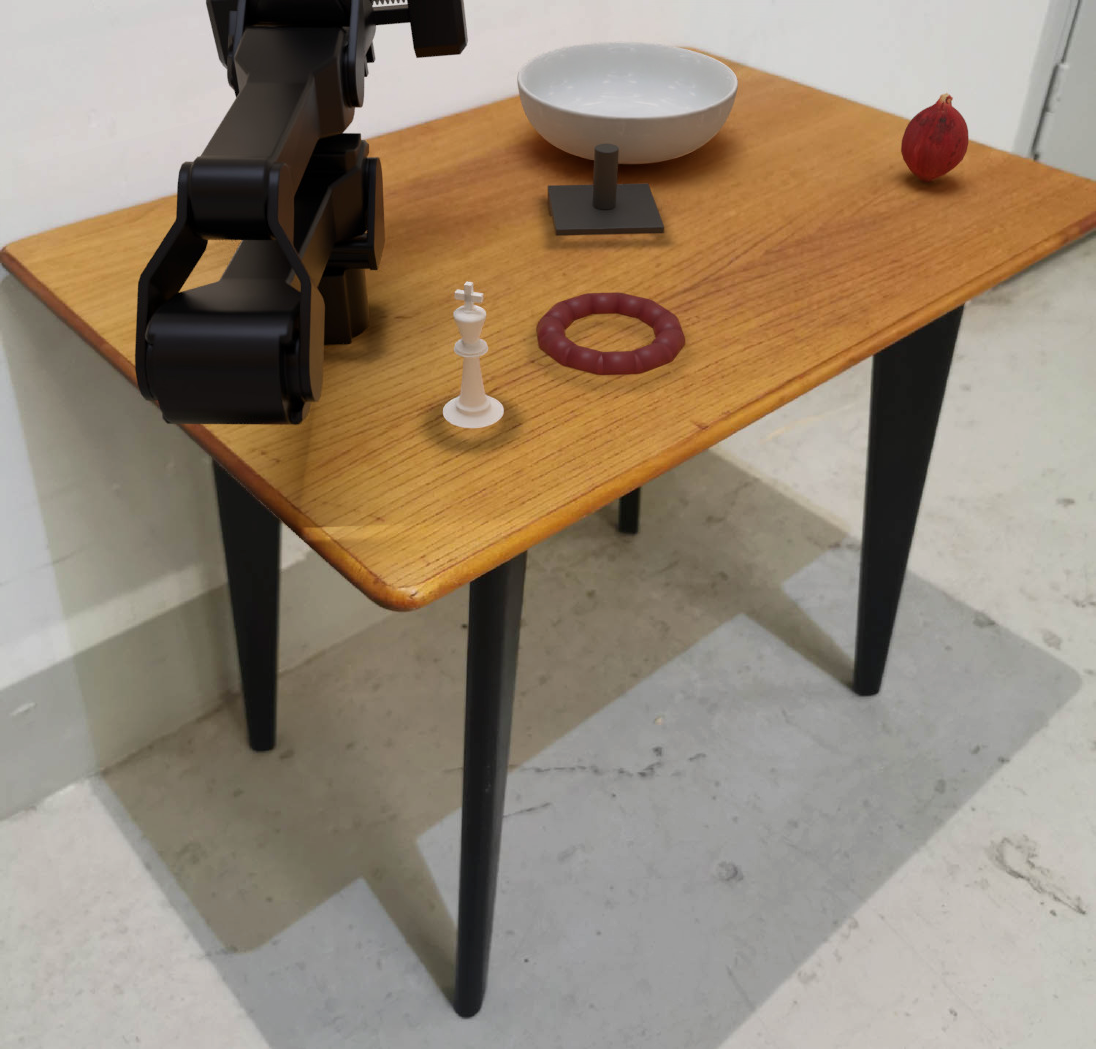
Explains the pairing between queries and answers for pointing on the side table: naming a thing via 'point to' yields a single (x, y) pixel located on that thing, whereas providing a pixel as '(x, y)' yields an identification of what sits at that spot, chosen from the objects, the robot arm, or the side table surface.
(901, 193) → the side table surface
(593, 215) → the post
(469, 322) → the chess piece
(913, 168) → the onion
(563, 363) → the ring
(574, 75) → the serving bowl
